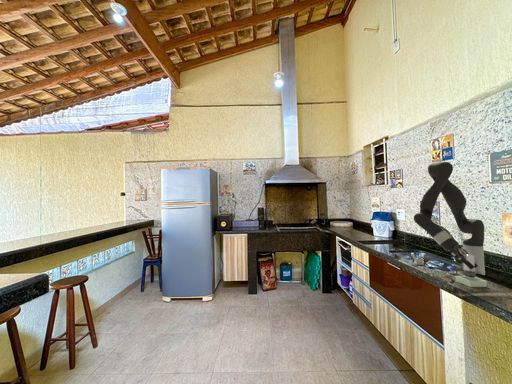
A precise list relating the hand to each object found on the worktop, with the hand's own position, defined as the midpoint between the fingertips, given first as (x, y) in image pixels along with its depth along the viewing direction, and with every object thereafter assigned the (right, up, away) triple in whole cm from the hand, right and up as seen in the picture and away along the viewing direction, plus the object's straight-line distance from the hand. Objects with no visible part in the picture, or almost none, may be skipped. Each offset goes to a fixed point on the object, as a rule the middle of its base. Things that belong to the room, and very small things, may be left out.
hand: (474, 267), depth 121 cm
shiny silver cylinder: (-1, -5, +1) cm, 5 cm away
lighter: (+1, -12, +44) cm, 45 cm away
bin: (-1, -10, +1) cm, 10 cm away
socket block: (-1, -11, +10) cm, 14 cm away
